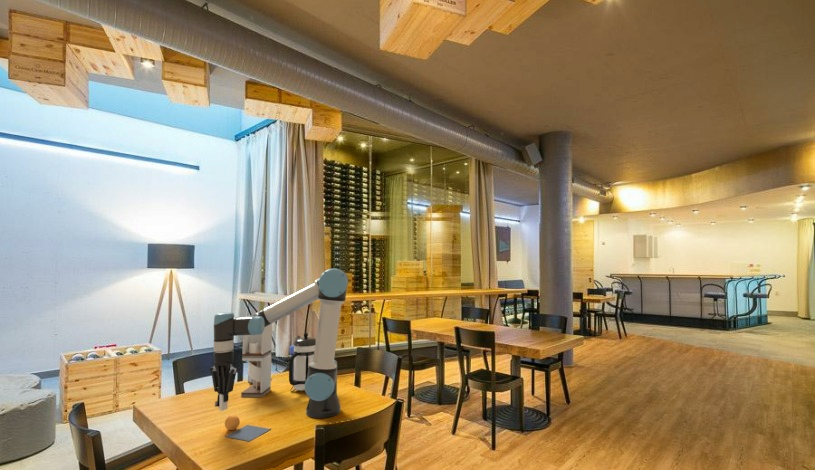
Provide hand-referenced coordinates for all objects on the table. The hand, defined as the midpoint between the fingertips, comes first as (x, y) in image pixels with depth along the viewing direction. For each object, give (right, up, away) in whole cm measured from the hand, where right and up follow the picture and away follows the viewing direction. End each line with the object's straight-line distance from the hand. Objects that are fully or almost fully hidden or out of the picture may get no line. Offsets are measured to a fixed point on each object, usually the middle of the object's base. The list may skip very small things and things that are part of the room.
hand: (223, 409), depth 163 cm
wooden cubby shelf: (-3, -11, +44) cm, 46 cm away
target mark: (+12, -7, -6) cm, 15 cm away
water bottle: (+11, -13, +70) cm, 72 cm away
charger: (-11, -13, +66) cm, 68 cm away
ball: (+5, -4, -2) cm, 7 cm away
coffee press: (+21, -11, +48) cm, 53 cm away
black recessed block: (-15, -11, +29) cm, 34 cm away
